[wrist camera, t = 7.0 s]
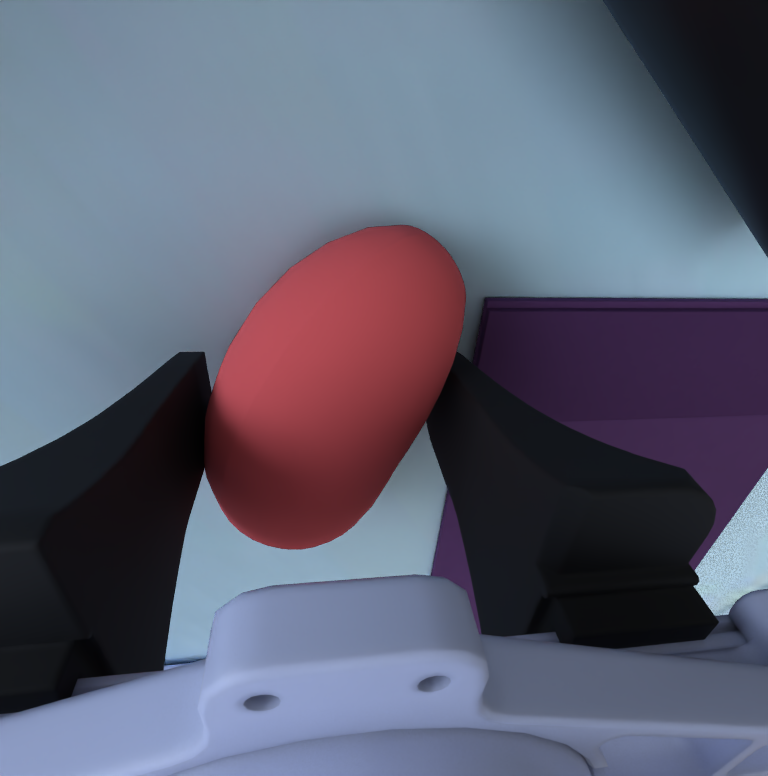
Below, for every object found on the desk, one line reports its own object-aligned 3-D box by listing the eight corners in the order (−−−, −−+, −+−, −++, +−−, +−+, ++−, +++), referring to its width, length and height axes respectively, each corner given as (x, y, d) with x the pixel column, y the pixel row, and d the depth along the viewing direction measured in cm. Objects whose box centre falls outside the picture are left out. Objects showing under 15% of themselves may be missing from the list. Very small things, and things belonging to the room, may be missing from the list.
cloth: (644, 632, 26) (649, 641, 26) (414, 656, 25) (416, 666, 24) (879, 299, 15) (894, 306, 15) (485, 297, 13) (490, 304, 13)
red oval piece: (157, 365, 15) (154, 581, 12) (294, 132, 9) (349, 463, 6) (304, 386, 18) (328, 560, 15) (480, 227, 12) (569, 469, 9)
